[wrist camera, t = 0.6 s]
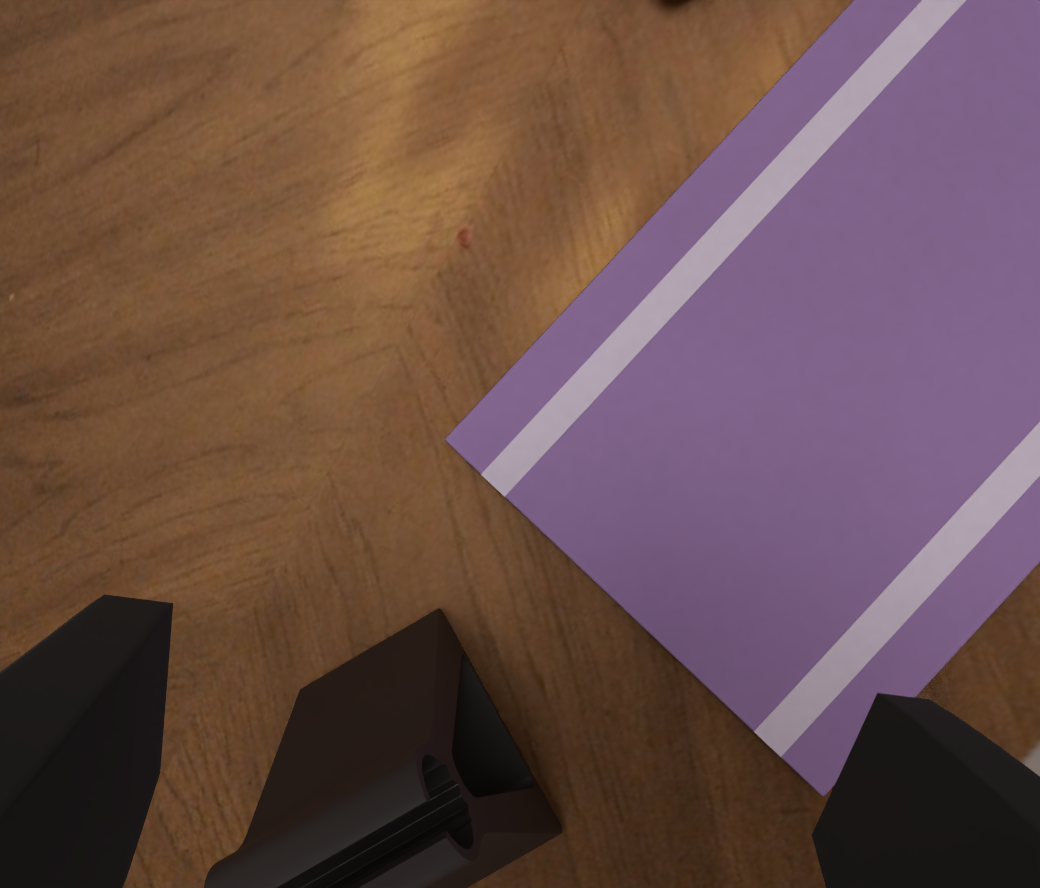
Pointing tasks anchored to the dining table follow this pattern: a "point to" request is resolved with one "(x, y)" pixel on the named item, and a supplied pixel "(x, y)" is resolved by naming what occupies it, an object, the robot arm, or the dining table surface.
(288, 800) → the phone stand
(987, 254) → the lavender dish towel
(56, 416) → the dining table surface
